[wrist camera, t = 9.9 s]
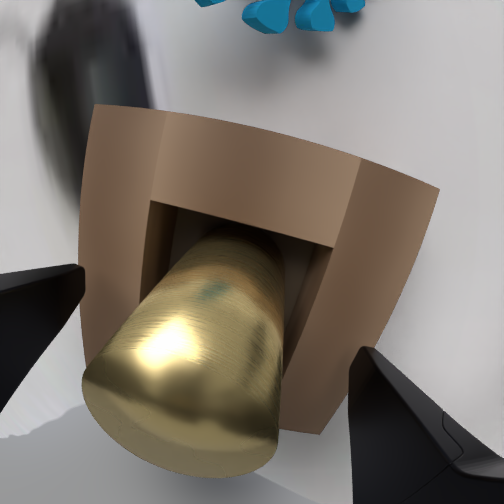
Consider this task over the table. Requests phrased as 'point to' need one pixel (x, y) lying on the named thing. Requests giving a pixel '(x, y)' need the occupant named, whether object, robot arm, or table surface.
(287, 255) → the socket block
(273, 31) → the gear
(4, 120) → the table surface
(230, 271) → the pin
